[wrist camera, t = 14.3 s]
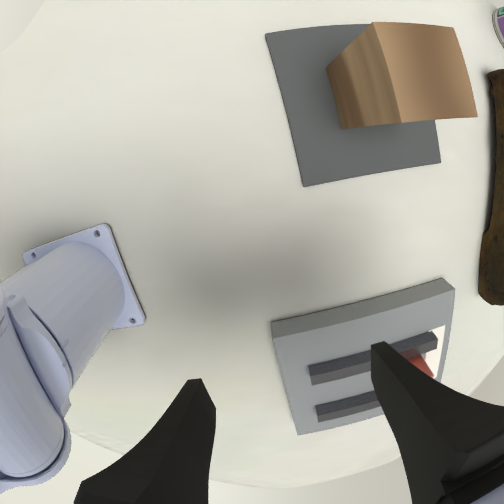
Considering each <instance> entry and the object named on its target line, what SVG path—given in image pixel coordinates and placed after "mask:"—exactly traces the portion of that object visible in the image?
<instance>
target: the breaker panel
mask: <svg viewBox="0 0 504 504" xmlns="http://www.w3.org/2000/svg"><path fill="white" fill-rule="evenodd" d="M454 297H455V288H454V287H453V286H451V285H450V284H449V283H448V282H447V281H446V280H444V279H443V278H440V279H437V280H434V281H431V282H428V283H424V284H421V285H418V286H414V287H411V288H408V289H404V290H401V291H397V292H394V293H390V294H387V295H383V296H379V297H376V298H372V299H368V300H365V301H361V302H357V303H353V304H349V305H345V306H341V307H337V308H333V309H329V310H325V311H320V312H316V313H312V314H307V315H303V316H298V317H294V318H289V319H284V320H280V321H275V322H271V329H272V339H273V343H274V347H275V351H276V355H277V359H278V362H279V366H280V370H281V374H282V378H283V381H284V385H285V389H286V393H287V397H288V400H289V404H290V408H291V412H292V416H293V419H294V423H295V427H296V431H297V435H303V434H308V433H313V432H318V431H322V430H327V429H331V428H336V427H340V426H344V425H348V424H352V423H355V422H359V421H363V420H366V419H370V418H373V417H376V416H380V415H383V414H384V412H383V410H382V407H381V405H380V403H379V401H378V399H377V396H376V393H375V390H374V387H373V384H372V380H371V345H372V344H375V343H379V342H382V341H385V342H387V343H388V344H389V345H390V346H391V347H393V348H394V349H395V350H396V351H397V352H398V353H400V354H401V355H402V356H403V357H404V358H406V359H410V358H413V357H416V356H418V355H421V356H422V357H423V359H424V360H425V362H426V363H427V365H428V367H429V368H430V370H431V371H432V373H433V374H434V377H433V379H435V380H436V381H438V382H441V378H442V373H443V369H444V364H445V359H446V354H447V348H448V342H449V336H450V330H451V323H452V315H453V307H454Z"/></svg>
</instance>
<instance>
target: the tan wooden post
mask: <svg viewBox="0 0 504 504" xmlns="http://www.w3.org/2000/svg"><path fill="white" fill-rule="evenodd" d="M326 71H327V75H328V78H329V82H330V85H331V89H332V92H333V96H334V100H335V104H336V108H337V112H338V116H339V120H340V124H341V128H342V130H343V129H350V128H357V127H366V126H374V125H383V124H394V123H404V122H414V121H424V120H436V119H450V118H468V117H478V116H477V111H476V106H475V101H474V96H473V92H472V88H471V83H470V80H469V76H468V72H467V68H466V65H465V61H464V58H463V55H462V52H461V48H460V45H459V42H458V39H457V37H456V34H455V31H454V28H452V27H444V26H436V25H427V24H414V23H396V22H372V23H371V24H370V25H369V26H368V27H367V28H366V29H365V30H364V31H363V32H362V33H361V34H360V35H359V36H357V37H356V38H355V39H354V40H353V41H352V42H351V43H350V44H349V45H348V46H347V47H346V48H345V49H344V50H343V51H342V52H341V53H340V54H339V55H338V56H337V57H336V58H335V59H334V60H333V61H332V62H331V63H330V64H329V65H328V66H327V67H326Z"/></svg>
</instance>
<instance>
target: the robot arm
mask: <svg viewBox="0 0 504 504" xmlns="http://www.w3.org/2000/svg"><path fill="white" fill-rule="evenodd" d="M97 230H98V231H99V232H100V236H99V235H97V233H96V231H97ZM34 253H35V255H36V256H35V255H34ZM23 259H24V262H25V264H26V266H24V267H23V268H22V269H20V270H19V271H17V272H16V273H14V274H13V275H11V276H10V277H9V278H7V279H6V280H4V281H3V282H2V283H0V494H1V493H3V492H5V491H6V490H8V489H11V488H14V487H19V486H32V485H37V484H41V483H43V482H46V481H47V480H49V479H51V478H52V477H54V476H55V475H56V474H57V473H58V472H59V471H60V470H61V469H62V467H63V466H64V465H65V463H66V461H67V459H68V457H69V453H70V450H71V434H70V430H69V427H68V425H67V423H66V421H65V420H64V417H65V415H66V413H67V411H68V410H69V408H70V406H71V403H70V401H69V393H70V391H71V390H72V388H73V386H74V385H75V383H76V382H77V380H78V378H79V377H80V375H81V374H82V372H83V370H84V369H85V367H86V366H87V364H88V363H89V361H90V360H91V358H92V357H93V355H94V353H95V352H96V350H97V349H98V347H99V346H100V344H101V343H102V341H103V340H104V338H105V337H106V335H107V334H108V333H109V331H110V330H111V329H118V328H125V327H132V326H139V325H143V324H144V322H145V316H144V313H143V311H142V309H141V306H140V304H139V302H138V299H137V297H136V295H135V292H134V290H133V288H132V285H131V283H130V280H129V278H128V275H127V273H126V270H125V268H124V265H123V262H122V260H121V257H120V254H119V252H118V249H117V246H116V243H115V241H114V238H113V235H112V232H111V229H110V227H109V226H108V225H107V224H100V225H97V226H94V227H91V228H89V229H86V230H83V231H80V232H77V233H74V234H71V235H68V236H66V237H63V238H60V239H57V240H55V241H52V242H49V243H47V244H44V245H41V246H39V247H36V248H33V249H31V250H28V251H26V252H24V253H23ZM131 318H133V319H135V321H133V320H132V319H131ZM371 380H372V384H373V387H374V390H375V393H376V396H377V399H378V401H379V403H380V405H381V407H382V410H383V412H384V414H385V416H386V418H387V420H388V423H389V425H390V427H391V429H392V431H393V433H394V436H395V438H396V441H397V443H398V446H399V450H400V453H401V457H402V460H403V464H404V467H405V471H406V475H407V479H408V484H409V488H410V493H411V498H412V504H504V406H499V405H494V404H490V403H486V402H483V401H480V400H477V399H474V398H471V397H469V396H466V395H464V394H461V393H459V392H457V391H455V390H453V389H451V388H449V387H447V386H445V385H443V384H441V383H440V382H438V381H436V380H435V379H433V378H432V377H430V376H429V375H427V374H426V373H424V372H423V371H421V370H420V369H419V368H417V367H416V366H415V365H413V364H412V363H411V362H409V361H408V360H407V359H406V358H404V357H403V356H402V355H401V354H400V353H398V352H397V351H396V350H395V349H394V348H393V347H391V346H390V345H389V344H388V343H387V342H385V341H382V342H379V343H375V344H372V345H371ZM215 429H216V408H215V406H214V404H213V402H212V400H211V398H210V396H209V394H208V392H207V390H206V388H205V386H204V384H203V381H202V379H201V378H200V379H191V380H187V382H186V383H185V385H184V386H183V387H182V389H181V390H180V392H179V393H178V395H177V396H176V398H175V399H174V400H173V402H172V403H171V405H170V406H169V407H168V409H167V410H166V412H165V413H164V414H163V416H162V417H161V418H160V419H159V421H158V422H157V423H156V424H155V426H154V427H153V428H152V429H151V430H150V431H149V433H148V434H147V435H146V436H145V437H144V438H143V439H142V440H141V441H140V442H139V443H138V444H137V445H136V446H135V447H133V448H132V449H131V450H130V451H129V452H127V453H126V454H125V455H124V456H123V457H121V458H120V459H119V460H117V461H116V462H115V463H113V464H112V465H110V466H109V467H107V468H106V469H104V470H102V471H101V472H99V473H97V474H95V475H93V476H91V477H89V478H87V479H86V480H84V481H82V482H81V484H80V487H79V490H78V492H77V495H76V497H75V500H74V504H208V480H209V468H210V462H211V456H212V449H213V443H214V436H215Z"/></svg>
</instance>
